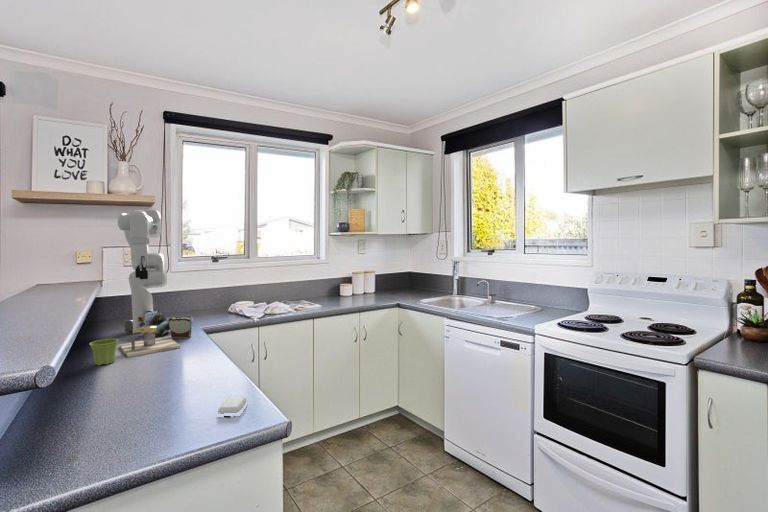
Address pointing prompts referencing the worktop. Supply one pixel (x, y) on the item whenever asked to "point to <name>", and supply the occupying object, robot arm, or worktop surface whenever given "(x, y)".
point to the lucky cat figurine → (155, 322)
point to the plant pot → (104, 350)
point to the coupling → (130, 331)
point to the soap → (232, 405)
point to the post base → (149, 349)
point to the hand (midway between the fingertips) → (141, 278)
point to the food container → (180, 326)
